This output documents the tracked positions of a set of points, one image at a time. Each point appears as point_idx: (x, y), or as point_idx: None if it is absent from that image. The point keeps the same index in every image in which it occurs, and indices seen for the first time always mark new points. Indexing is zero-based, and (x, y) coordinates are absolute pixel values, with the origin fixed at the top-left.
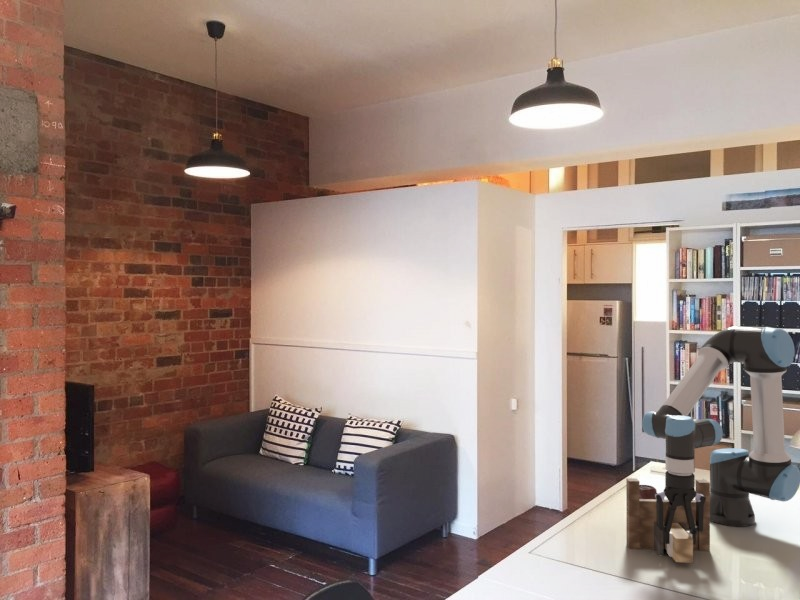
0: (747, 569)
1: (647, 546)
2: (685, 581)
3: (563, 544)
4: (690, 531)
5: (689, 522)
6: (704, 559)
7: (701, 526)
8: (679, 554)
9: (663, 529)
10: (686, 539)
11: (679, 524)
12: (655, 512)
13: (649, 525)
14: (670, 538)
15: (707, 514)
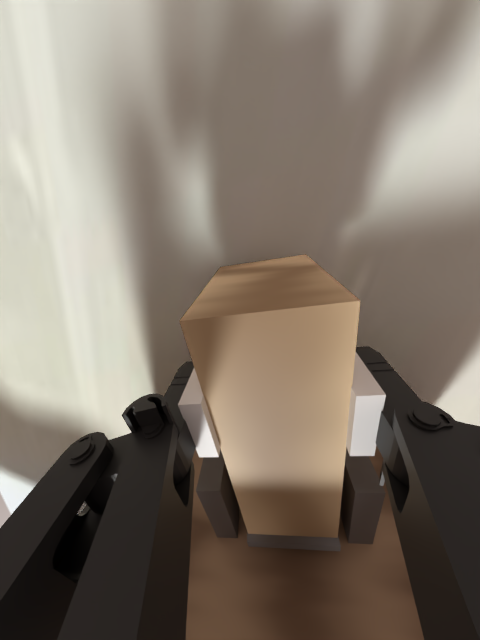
0: (36, 304)
1: None
2: (293, 60)
3: None
4: (188, 442)
5: (158, 556)
6: (175, 360)
7: (51, 487)
8: (293, 265)
9: (475, 439)
10: (243, 310)
11: (237, 523)
12: (393, 637)
13: (387, 516)
14: (360, 362)
15: None
